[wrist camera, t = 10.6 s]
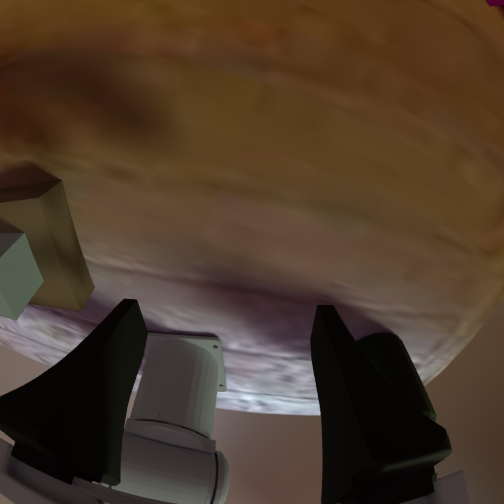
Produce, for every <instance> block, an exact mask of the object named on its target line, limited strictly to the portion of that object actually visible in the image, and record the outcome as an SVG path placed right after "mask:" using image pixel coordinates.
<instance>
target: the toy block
mask: <svg viewBox="0 0 504 504" xmlns="http://www.w3.org/2000/svg"><path fill="white" fill-rule="evenodd" d="M487 1H488V3H489V6H499V5H504V0H487Z"/></svg>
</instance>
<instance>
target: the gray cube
mask: <svg viewBox="0 0 504 504" xmlns="http://www.w3.org/2000/svg"><path fill="white" fill-rule="evenodd" d="M43 282H44V280H43V278H42V276H41V273H40V271H39V269H38V266H37V264H36V261H35V259H34V256H33V254H32V251H31V249H30V246H29V243H28V240H27V238H26V235H25V233H0V316H2V317H6V318H10V319H14V320H17V319H18V317H19V316H20V314H21V313H22V311H23V310H24V308H25V307H26V305H27V304H28V303H29V301H30V300H31V298H32V297H33V295H34V294H35V293H36V291H37V290H38V289H39V287H40V286H41V284H42V283H43Z"/></svg>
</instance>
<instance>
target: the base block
mask: <svg viewBox="0 0 504 504" xmlns="http://www.w3.org/2000/svg"><path fill="white" fill-rule="evenodd" d="M0 233H25V235H26V238H27V240H28V243H29V246H30V249H31V251H32V254H33V256H34V259H35V261H36V264H37V266H38V269H39V271H40V273H41V276H42V278H43V280H44V282H43V283H42V284H41V286H40V287H39V289H38V290H37V291H36V293H35V294H34V295H33V297H32V298H31V300H30V301H29V304H35V305H41V306H48V307H55V308H62V309H69V310H77V311H81V310H82V308H83V306H84V305H85V303H86V301H87V300H88V298H89V296H90V294H91V293H92V291H93V289H94V288H95V287H94V285H93V282H92V279H91V277H90V274H89V271H88V268H87V266H86V263H85V260H84V257H83V254H82V251H81V248H80V245H79V242H78V238H77V235H76V232H75V229H74V225H73V222H72V218H71V215H70V211H69V207H68V204H67V200H66V196H65V192H64V187H63V183H62V180H61V181H54V182H47V183H40V184H33V185H26V186H20V187H14V188H9V189H3V190H0Z"/></svg>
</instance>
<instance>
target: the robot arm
mask: <svg viewBox="0 0 504 504" xmlns="http://www.w3.org/2000/svg"><path fill="white" fill-rule="evenodd" d="M310 342H311V357H312V365H313V371H314V377H315V382H316V388H317V393H318V399H319V405H320V412H321V421H322V422H321V423H322V449H323V471H322V472H323V473H322V496H321V504H471V503H470V498H469V493H468V488H467V483H466V478H465V474H464V471H463V470H461V471H458V472H455V473H453V474H450V475H448V476H445V477H442V478H439V479H437V480H435V481H432V475H434V474H435V470H434V465H436V464H437V463H439V462H441V461H442V460H444V459H445V458H446V457H448V456H449V455H450V454H451V452H452V448H451V445H450V440H449V437H448V434H447V432H446V429H444V428H443V427H442V426H440V425H438V424H437V423H436V422H434V421H433V420H431V419H430V418H428V417H427V416H425V415H424V414H423V413H421V412H420V411H419V410H418V409H416V408H415V407H414V406H413V405H412V404H411V403H410V402H408V401H407V400H406V399H405V398H404V397H403V396H402V395H401V394H400V393H398V392H397V391H396V390H395V389H394V388H393V387H392V385H391V384H390V383H389V382H388V381H387V380H386V379H385V378H384V377H383V376H382V375H381V374H380V372H379V371H378V370H377V369H376V368H375V366H374V365H373V364H372V363H371V361H370V360H369V359H368V357H367V356H366V355H365V353H364V352H363V351H362V349H361V348H360V346H359V345H358V344H357V342H356V341H355V339H354V338H353V336H352V335H351V333H350V332H349V330H348V329H347V327H346V325H345V324H344V322H343V321H342V319H341V317H340V316H339V314H338V312H337V310H336V309H335V307H334V306H333V305H317V309H316V314H315V319H314V324H313V329H312V333H311V338H310ZM144 354H145V357H146V359H147V360H146V363H145V367H144V370H143V373H142V377H141V380H140V384H139V387H138V390H137V394H136V398H135V401H134V405H133V408H132V412H131V416H130V418H127V421H126V425H125V418H126V413H127V407H128V403H129V399H130V395H131V392H132V389H133V386H134V383H135V380H136V377H137V374H138V371H139V368H140V365H141V362H142V359H143V355H144ZM226 389H227V387H226V379H225V371H224V363H223V355H222V347H221V340H220V339H219V338H217V337H203V336H187V335H173V334H161V333H149V332H148V331H147V328H146V325H145V322H144V319H143V316H142V313H141V310H140V307H139V304H138V301H137V300H136V299H123V300H122V301H121V302H120V303H119V304H118V305H117V306H116V307H115V308H114V309H113V310H112V311H111V313H110V314H109V315H108V316H107V317H106V318H105V319H104V320H103V321H102V322H101V323H100V324H99V325H98V326H97V327H96V328H95V329H94V330H93V331H92V332H91V333H90V334H89V335H88V336H87V337H86V338H85V339H84V340H83V341H82V342H81V343H80V344H79V345H78V346H77V347H76V348H75V349H74V350H72V351H71V352H70V353H69V354H68V355H67V356H65V357H64V358H63V359H62V360H60V361H59V362H58V363H57V364H55V365H54V366H53V367H51V368H50V369H48V370H47V371H45V372H44V373H43V374H41V375H40V376H38V377H37V378H35V379H33V380H32V381H30V382H28V383H26V384H25V385H23V386H21V387H19V388H17V389H15V390H13V391H11V392H9V393H7V394H4V395H2V396H1V397H0V430H1V431H2V432H4V433H5V434H6V435H8V436H9V437H10V438H11V439H13V440H14V441H15V444H14V446H12V445H11V444H9V443H8V442H6V441H4V440H3V439H1V438H0V493H1V494H2V495H4V496H5V497H6V498H8V499H9V500H10V501H12V502H13V503H15V504H224V502H225V500H226V497H227V493H228V487H229V464H228V461H227V459H226V458H225V457H224V455H223V453H222V452H221V451H217V450H215V449H216V441H215V440H211V437H212V433H213V426H214V416H215V407H216V398H217V392H225V391H226ZM124 425H125V428H124ZM92 481H94V482H97V483H98V484H95V483H92Z"/></svg>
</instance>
